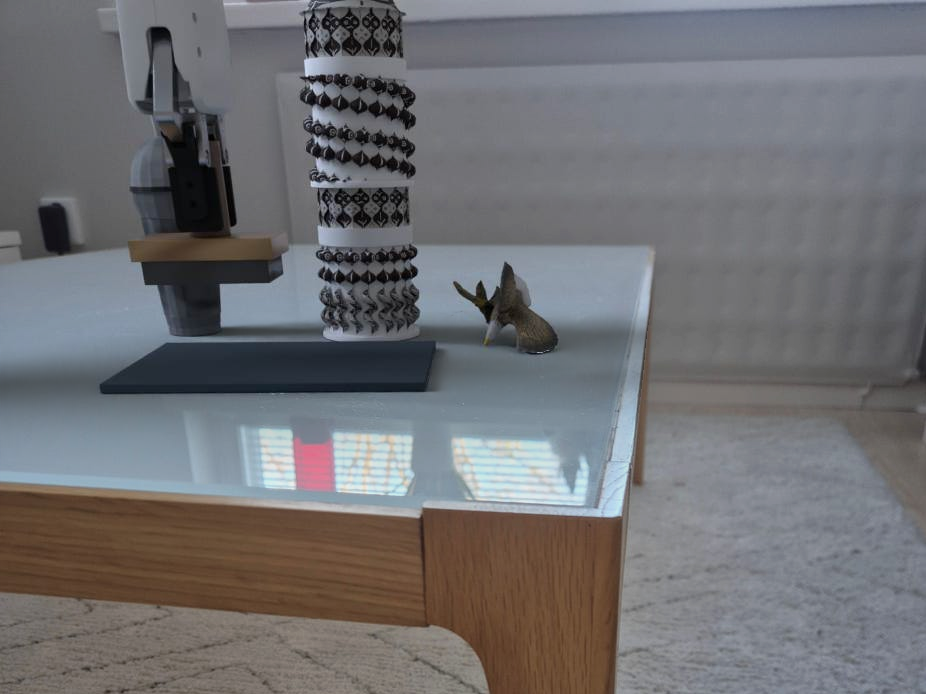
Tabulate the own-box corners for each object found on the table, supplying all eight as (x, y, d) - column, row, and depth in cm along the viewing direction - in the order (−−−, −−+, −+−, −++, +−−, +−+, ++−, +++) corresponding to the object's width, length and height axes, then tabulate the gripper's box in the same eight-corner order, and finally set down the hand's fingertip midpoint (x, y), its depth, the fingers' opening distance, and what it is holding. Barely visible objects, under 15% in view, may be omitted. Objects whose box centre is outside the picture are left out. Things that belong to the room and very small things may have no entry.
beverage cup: (243, 334, 82) (210, 68, 73) (156, 341, 80) (111, 67, 71) (230, 322, 88) (199, 74, 79) (150, 327, 86) (107, 73, 77)
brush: (135, 286, 66) (109, 142, 62) (161, 275, 72) (139, 142, 68) (275, 284, 66) (259, 139, 62) (291, 273, 72) (277, 139, 67)
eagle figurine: (432, 326, 79) (481, 321, 71) (467, 247, 78) (520, 233, 70) (504, 370, 82) (557, 369, 75) (537, 294, 82) (594, 286, 74)
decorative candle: (303, 342, 79) (270, -18, 67) (337, 323, 87) (313, -1, 75) (409, 345, 78) (393, -23, 66) (433, 326, 86) (424, -5, 74)
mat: (100, 393, 63) (98, 384, 63) (167, 350, 77) (165, 342, 76) (425, 391, 63) (424, 382, 63) (436, 347, 76) (435, 340, 76)
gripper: (145, -64, 66) (188, 221, 75) (50, -121, 52) (116, 241, 60) (252, -67, 66) (282, 219, 75) (185, -125, 51) (233, 239, 60)
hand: (208, 226), depth 67 cm, fingers closed on brush, 3 cm apart
